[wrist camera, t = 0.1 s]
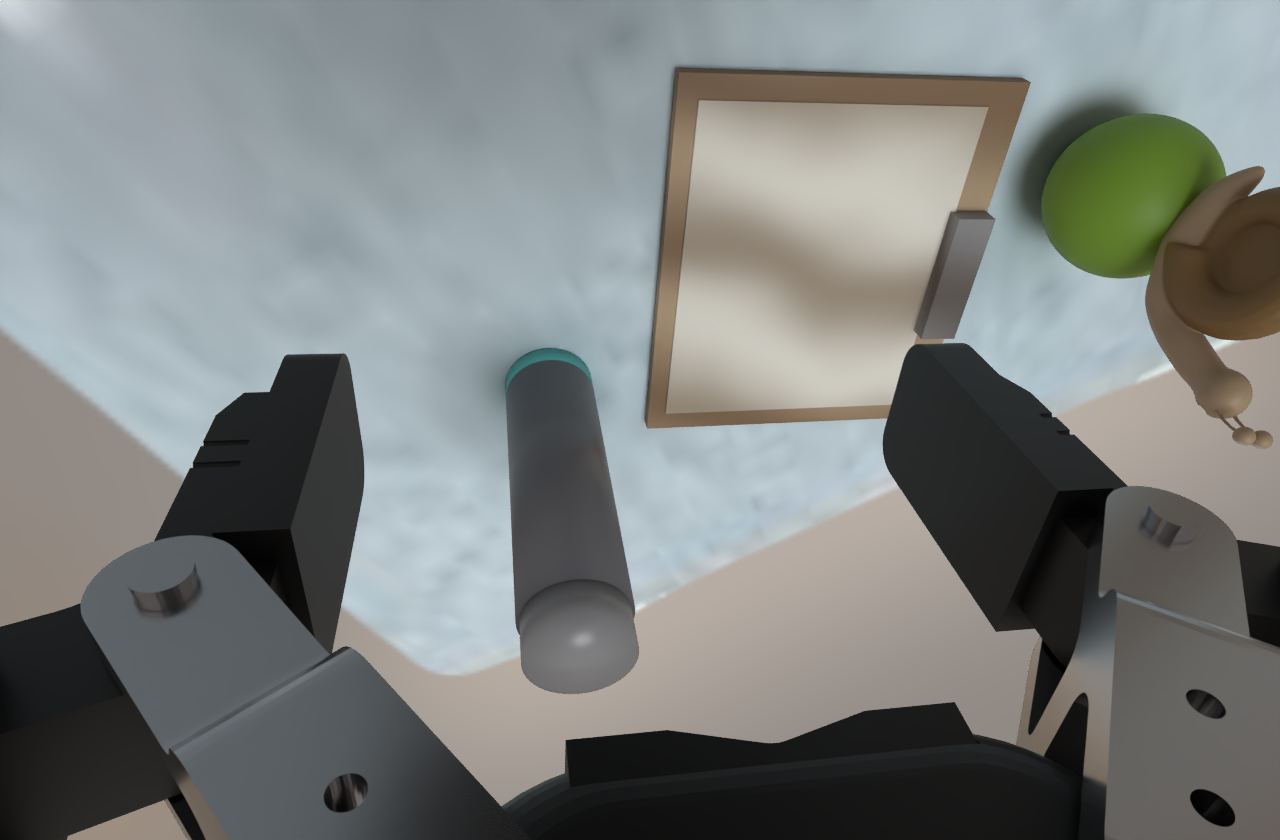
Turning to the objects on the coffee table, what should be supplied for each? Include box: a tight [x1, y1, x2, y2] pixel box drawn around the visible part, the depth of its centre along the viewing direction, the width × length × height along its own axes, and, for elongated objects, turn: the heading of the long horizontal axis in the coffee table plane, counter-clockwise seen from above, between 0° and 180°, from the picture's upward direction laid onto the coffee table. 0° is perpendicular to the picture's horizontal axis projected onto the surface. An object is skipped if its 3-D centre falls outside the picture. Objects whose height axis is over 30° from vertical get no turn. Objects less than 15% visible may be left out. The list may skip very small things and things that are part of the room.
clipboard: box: [645, 68, 1031, 428], centre depth 30 cm, size 14×12×1 cm
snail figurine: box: [1041, 114, 1280, 449], centre depth 26 cm, size 5×6×12 cm
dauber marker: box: [505, 348, 639, 694], centre depth 27 cm, size 3×3×13 cm
